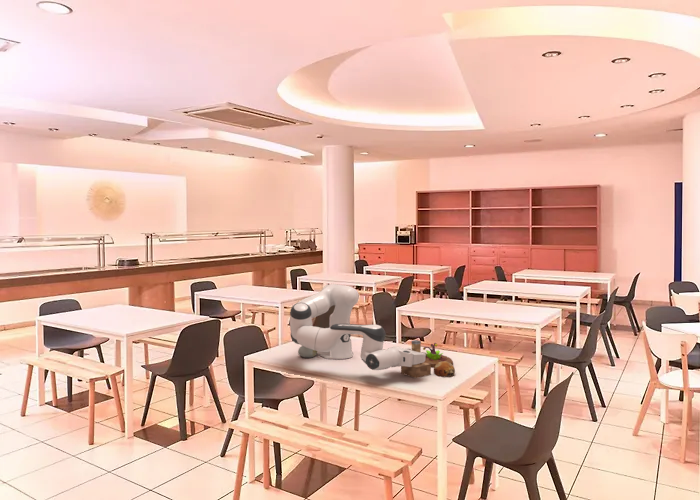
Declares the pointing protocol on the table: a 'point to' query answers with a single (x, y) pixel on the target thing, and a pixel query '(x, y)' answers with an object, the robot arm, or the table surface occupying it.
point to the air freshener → (306, 352)
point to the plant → (435, 356)
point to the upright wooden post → (416, 346)
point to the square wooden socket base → (417, 370)
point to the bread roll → (444, 369)
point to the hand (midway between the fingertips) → (417, 352)
